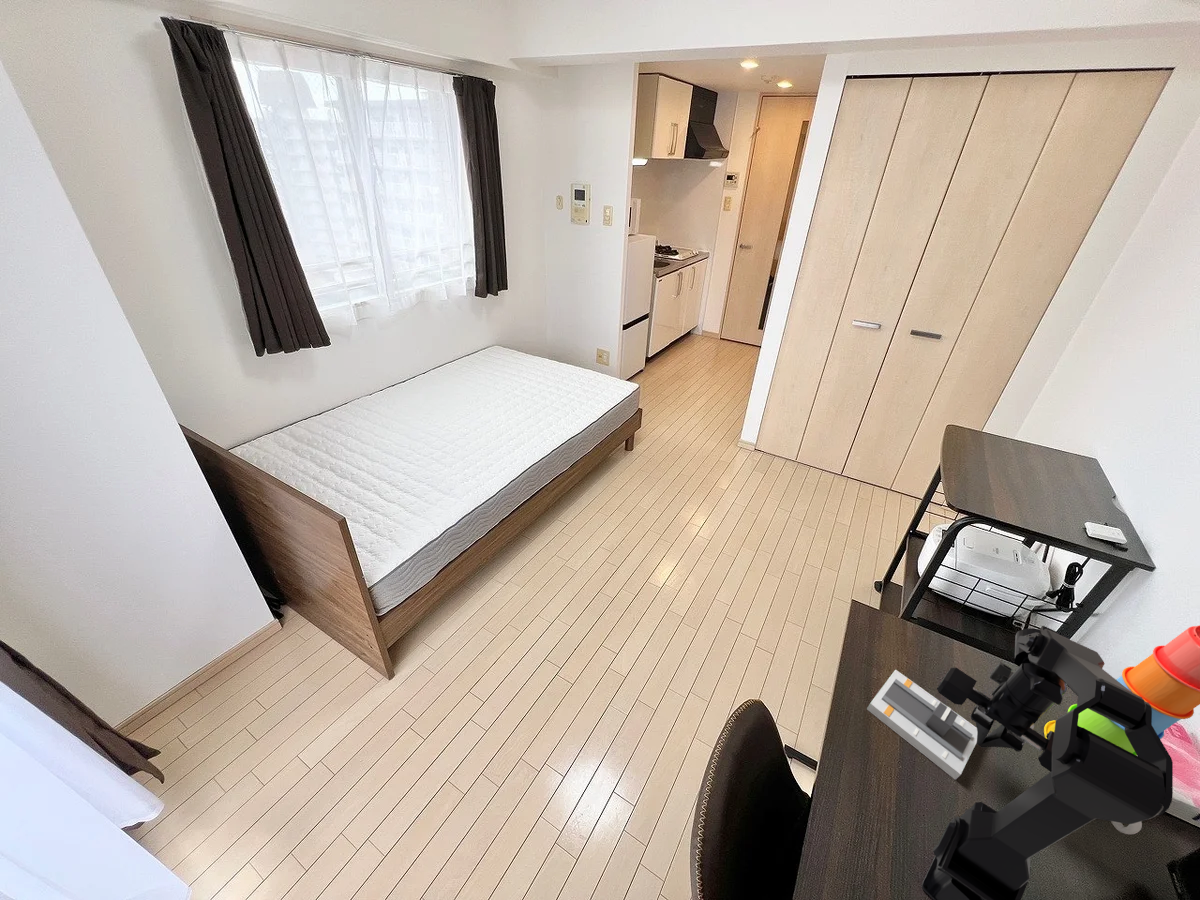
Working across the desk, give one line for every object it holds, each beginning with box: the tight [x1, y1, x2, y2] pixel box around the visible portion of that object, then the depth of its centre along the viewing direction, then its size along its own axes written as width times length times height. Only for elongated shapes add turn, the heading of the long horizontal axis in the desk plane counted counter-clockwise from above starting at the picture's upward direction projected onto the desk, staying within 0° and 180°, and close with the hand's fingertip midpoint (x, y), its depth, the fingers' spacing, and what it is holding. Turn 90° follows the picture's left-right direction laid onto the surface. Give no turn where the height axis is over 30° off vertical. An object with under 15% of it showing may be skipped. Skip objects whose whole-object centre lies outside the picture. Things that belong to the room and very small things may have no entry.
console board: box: [866, 669, 977, 781], centre depth 93 cm, size 12×16×2 cm
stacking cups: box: [1043, 625, 1200, 756], centre depth 82 cm, size 10×10×35 cm
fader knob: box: [926, 701, 959, 737], centre depth 90 cm, size 4×3×4 cm
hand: (979, 744), depth 86 cm, fingers closed
